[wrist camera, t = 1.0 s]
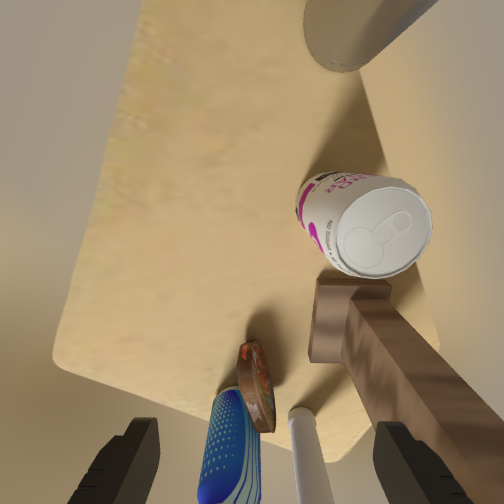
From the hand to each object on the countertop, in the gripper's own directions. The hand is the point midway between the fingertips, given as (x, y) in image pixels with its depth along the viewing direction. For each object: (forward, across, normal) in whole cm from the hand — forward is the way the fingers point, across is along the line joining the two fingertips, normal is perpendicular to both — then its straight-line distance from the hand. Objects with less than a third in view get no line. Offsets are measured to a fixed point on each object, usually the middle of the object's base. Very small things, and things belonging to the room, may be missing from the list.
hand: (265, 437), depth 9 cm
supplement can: (+25, -9, -8) cm, 28 cm away
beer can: (+30, +4, +28) cm, 41 cm away
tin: (+29, 0, +20) cm, 35 cm away
